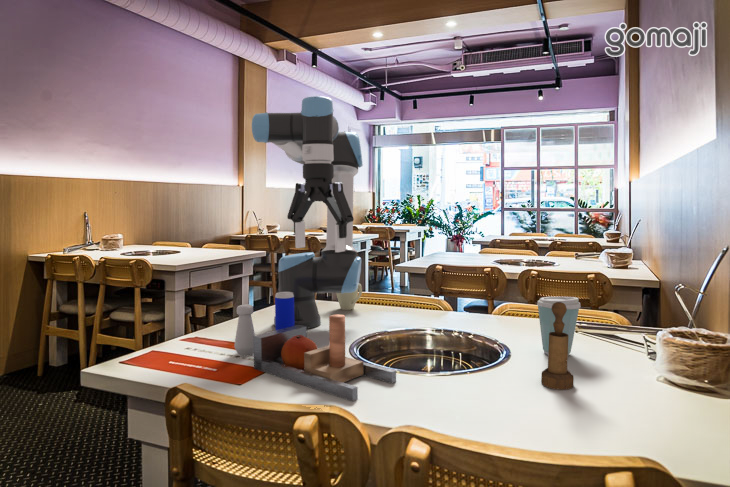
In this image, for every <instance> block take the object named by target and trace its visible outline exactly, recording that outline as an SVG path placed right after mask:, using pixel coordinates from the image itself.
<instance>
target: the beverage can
mask: <svg viewBox="0 0 730 487" xmlns="http://www.w3.org/2000/svg"><path fill="white" fill-rule="evenodd" d="M274 315H275V316H274V317H275V326H276V327H275V326H274V327H275V330H279V329H283V328H287V327H291V326H294V295H293V293H292V292H279V291H278V292H276V293H275V296H274Z"/></svg>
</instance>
